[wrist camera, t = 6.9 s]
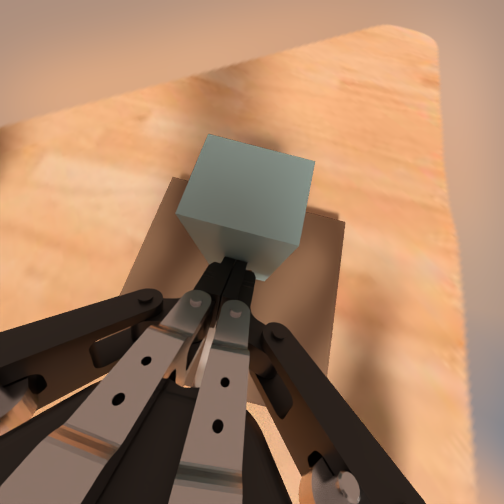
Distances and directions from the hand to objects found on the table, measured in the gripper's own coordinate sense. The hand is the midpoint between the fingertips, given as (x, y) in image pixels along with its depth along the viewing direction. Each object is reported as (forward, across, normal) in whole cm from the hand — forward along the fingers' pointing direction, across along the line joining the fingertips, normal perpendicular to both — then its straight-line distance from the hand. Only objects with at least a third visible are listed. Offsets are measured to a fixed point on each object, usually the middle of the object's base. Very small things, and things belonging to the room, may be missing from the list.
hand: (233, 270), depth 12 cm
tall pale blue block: (+5, 0, +1) cm, 5 cm away
